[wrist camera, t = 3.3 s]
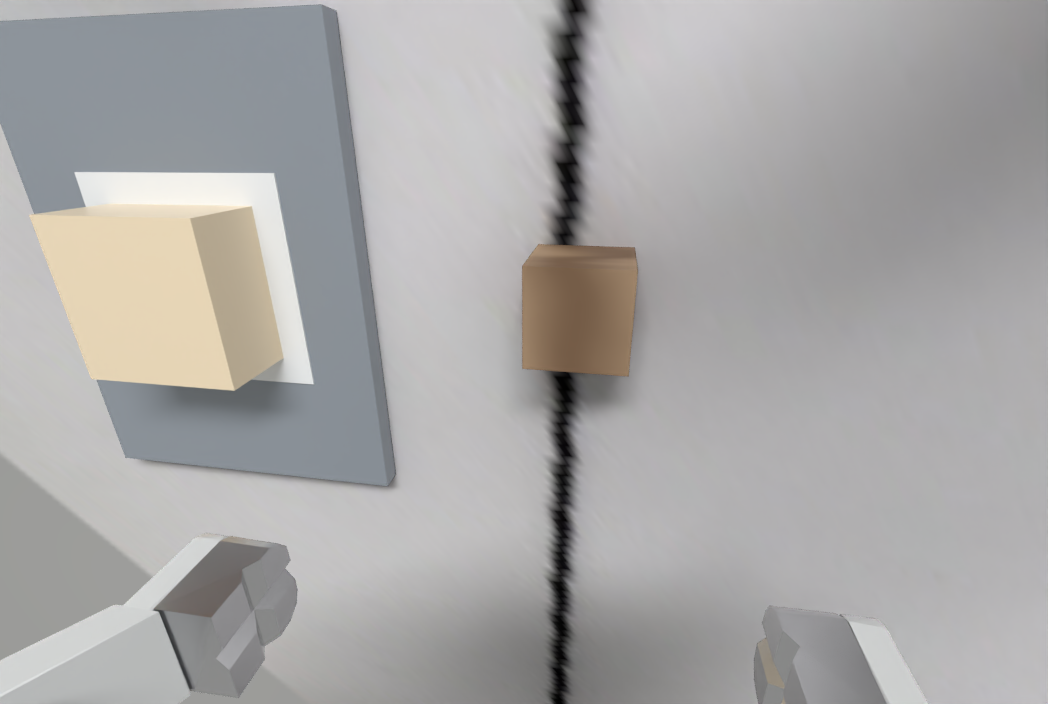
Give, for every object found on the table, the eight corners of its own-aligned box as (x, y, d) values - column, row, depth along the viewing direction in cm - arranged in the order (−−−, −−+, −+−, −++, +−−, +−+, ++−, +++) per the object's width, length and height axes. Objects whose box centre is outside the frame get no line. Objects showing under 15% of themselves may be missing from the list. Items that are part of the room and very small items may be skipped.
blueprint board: (336, 10, 22) (258, -23, 17) (395, 473, 31) (355, 534, 27) (-9, 27, 25) (-157, 3, 20) (141, 447, 34) (65, 497, 29)
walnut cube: (634, 247, 24) (637, 270, 20) (626, 337, 25) (628, 376, 21) (538, 243, 24) (522, 266, 20) (537, 332, 26) (522, 368, 22)
